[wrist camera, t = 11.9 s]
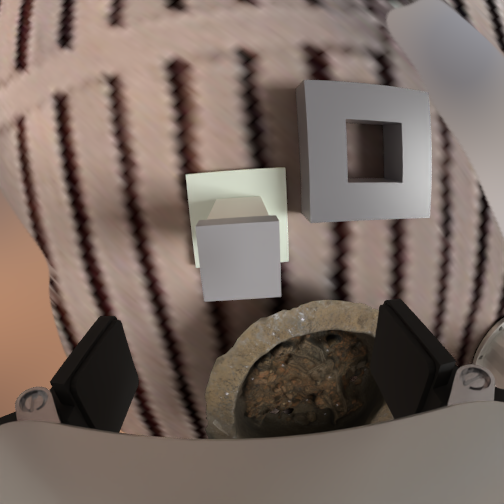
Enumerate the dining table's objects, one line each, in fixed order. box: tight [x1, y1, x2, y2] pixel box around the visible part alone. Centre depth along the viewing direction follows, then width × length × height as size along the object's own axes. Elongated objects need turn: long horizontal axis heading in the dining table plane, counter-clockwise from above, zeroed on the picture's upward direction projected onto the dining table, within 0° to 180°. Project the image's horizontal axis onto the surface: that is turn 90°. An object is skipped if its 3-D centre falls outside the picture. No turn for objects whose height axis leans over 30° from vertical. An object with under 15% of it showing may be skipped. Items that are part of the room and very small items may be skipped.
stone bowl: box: [205, 300, 394, 439], centre depth 32 cm, size 25×25×9 cm
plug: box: [195, 196, 281, 302], centre depth 23 cm, size 5×5×12 cm
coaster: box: [186, 167, 289, 268], centre depth 29 cm, size 9×9×1 cm
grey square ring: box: [296, 80, 432, 223], centre depth 26 cm, size 12×12×4 cm
